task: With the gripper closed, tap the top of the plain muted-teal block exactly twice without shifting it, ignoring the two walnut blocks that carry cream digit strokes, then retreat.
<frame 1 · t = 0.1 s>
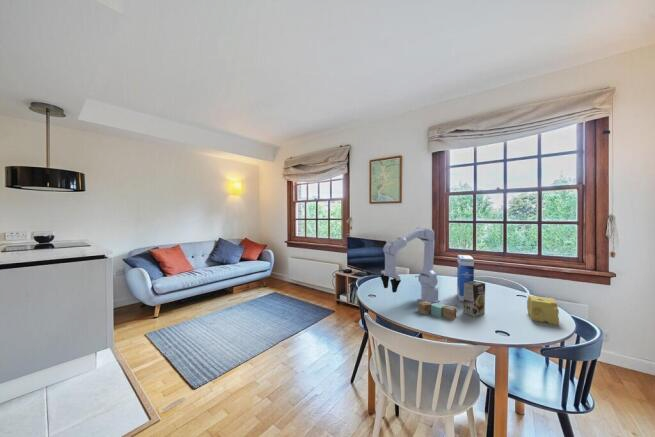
hand: (390, 289, 136), 10 cm above the table, fingers open, 7 cm apart
plain block: (438, 314, 128), on the table
digit block seven: (449, 317, 125), on the table
cheese: (541, 319, 123), on the table
digit block one: (424, 312, 131), on the table
coffee box: (473, 313, 130), on the table
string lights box: (464, 298, 151), on the table
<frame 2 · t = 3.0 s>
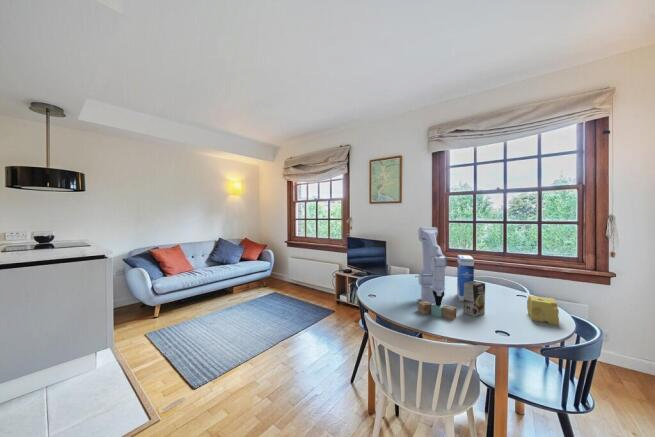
hand: (438, 305, 127), 5 cm above the table, fingers closed, pressing on plain block
plain block: (438, 314, 128), on the table, touching gripper
everything else where it was.
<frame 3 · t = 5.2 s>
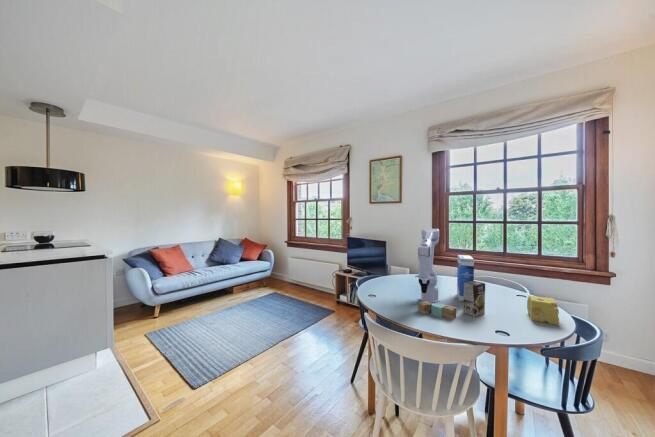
hand: (423, 292, 134), 9 cm above the table, fingers closed
plain block: (438, 314, 127), on the table
everything else where it was.
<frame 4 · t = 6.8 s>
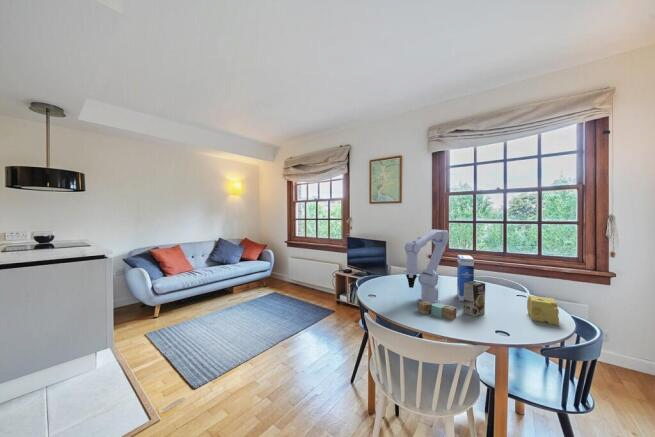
hand: (411, 287, 139), 10 cm above the table, fingers closed
nothing on the table moved.
at the end: plain block moved 0.2 cm from its start; plain block tilted 0°; digit block one moved 0.1 cm from its start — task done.
